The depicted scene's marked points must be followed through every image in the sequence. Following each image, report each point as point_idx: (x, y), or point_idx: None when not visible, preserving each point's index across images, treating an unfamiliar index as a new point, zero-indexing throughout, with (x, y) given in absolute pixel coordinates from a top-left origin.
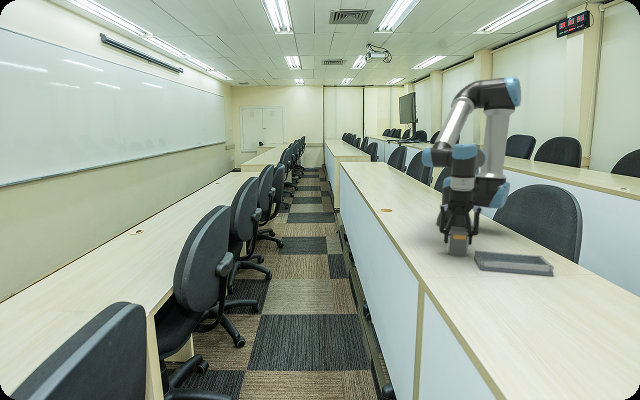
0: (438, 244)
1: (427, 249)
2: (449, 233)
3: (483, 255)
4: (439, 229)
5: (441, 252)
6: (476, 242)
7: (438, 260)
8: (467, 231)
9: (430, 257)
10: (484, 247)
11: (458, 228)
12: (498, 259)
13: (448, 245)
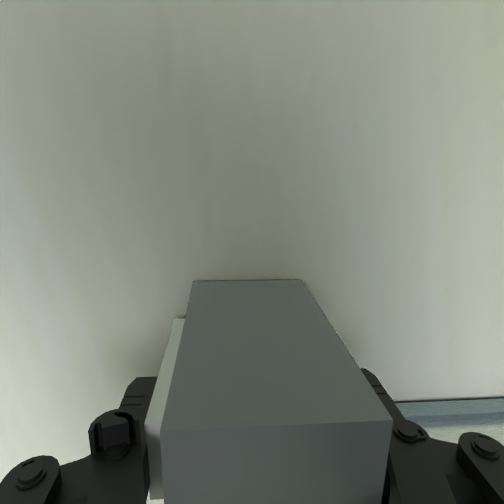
0: (118, 149)
1: (27, 302)
2: (176, 359)
3: None
4: (4, 498)
5: (138, 341)
6: (483, 11)
7: None
8: (389, 468)
9: (61, 446)
10: (496, 151)
11: (281, 499)
12: None
13: None
